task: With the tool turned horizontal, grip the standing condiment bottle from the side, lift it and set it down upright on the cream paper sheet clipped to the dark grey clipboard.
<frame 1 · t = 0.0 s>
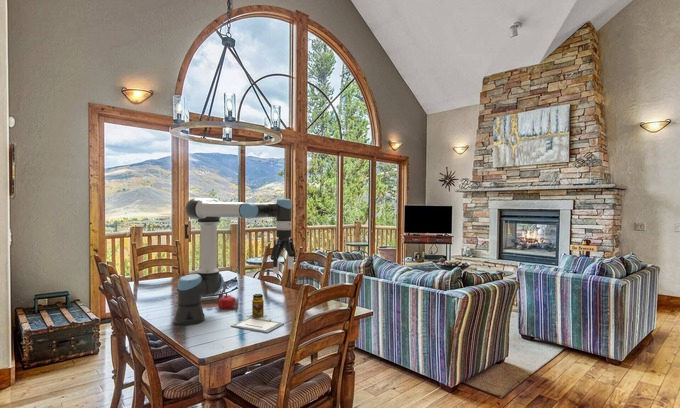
hand: (283, 271, 197), 28 cm above the table, tool pointing down, fingers open, 13 cm apart
pomegranate: (226, 308, 228), on the table
condiment: (256, 316, 214), on the table
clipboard: (257, 325, 198), on the table
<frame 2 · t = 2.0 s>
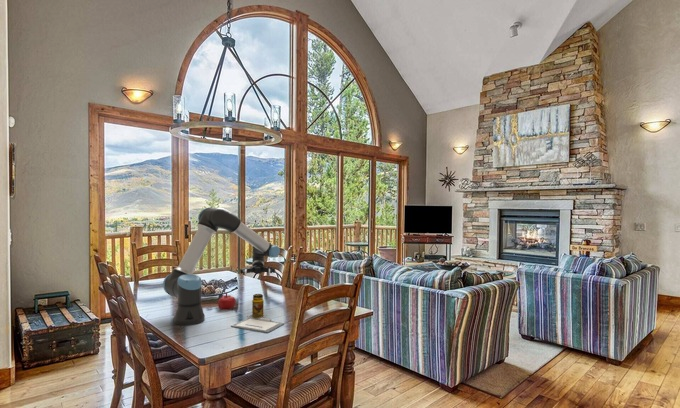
hand: (257, 273, 223), 22 cm above the table, tool horizontal, fingers open, 13 cm apart
nothing on the table moved.
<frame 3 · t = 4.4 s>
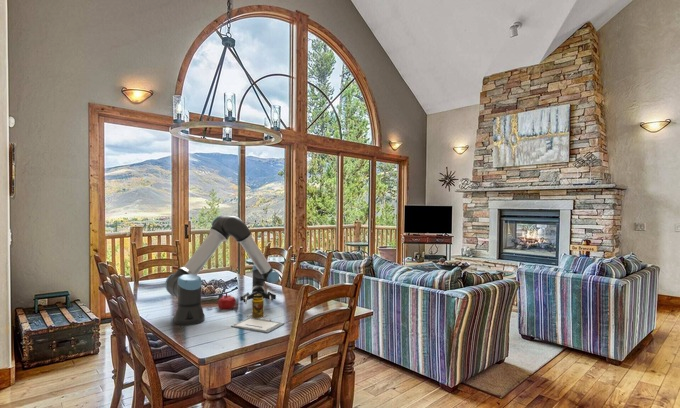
hand: (258, 301, 219), 7 cm above the table, tool horizontal, fingers open, 13 cm apart
nothing on the table moved.
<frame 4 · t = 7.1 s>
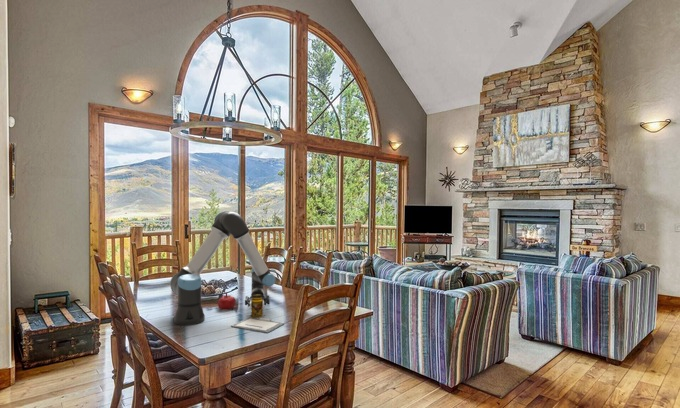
hand: (257, 305, 209), 7 cm above the table, tool horizontal, fingers closed on condiment, 6 cm apart
condiment: (256, 316, 214), on the table, touching gripper
everything else where it was.
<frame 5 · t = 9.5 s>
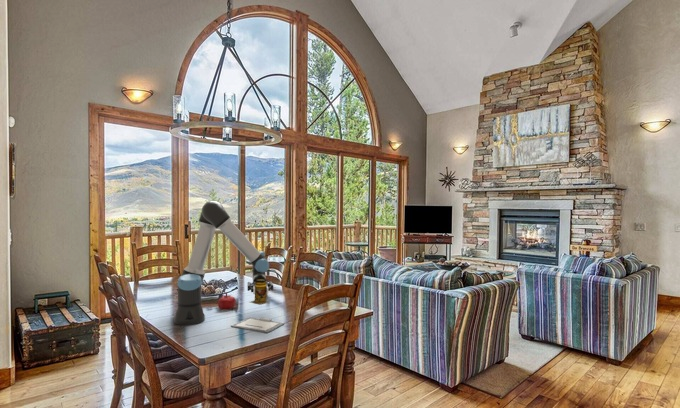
hand: (260, 291, 198), 18 cm above the table, tool horizontal, fingers closed on condiment, 6 cm apart
condiment: (259, 302, 203), point 10 cm above the table, touching gripper
everything else where it was.
when the fingers open (9 cm above the table, at t = 12.3 s): condiment drops 1 cm, resting on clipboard.
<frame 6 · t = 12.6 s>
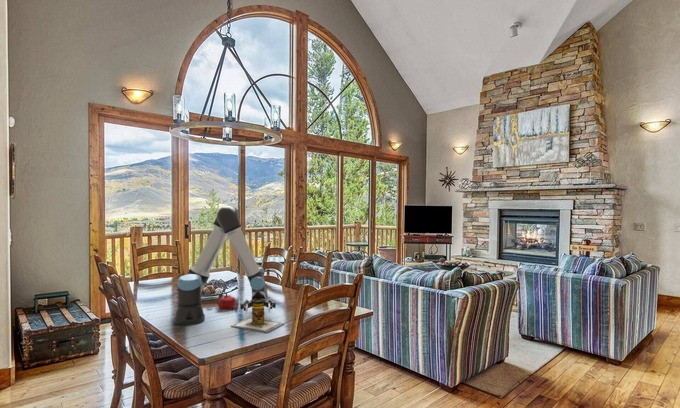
hand: (258, 310, 194), 9 cm above the table, tool horizontal, fingers open, 10 cm apart
condiment: (257, 324, 198), point 1 cm above the table, touching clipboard
everything else where it was.
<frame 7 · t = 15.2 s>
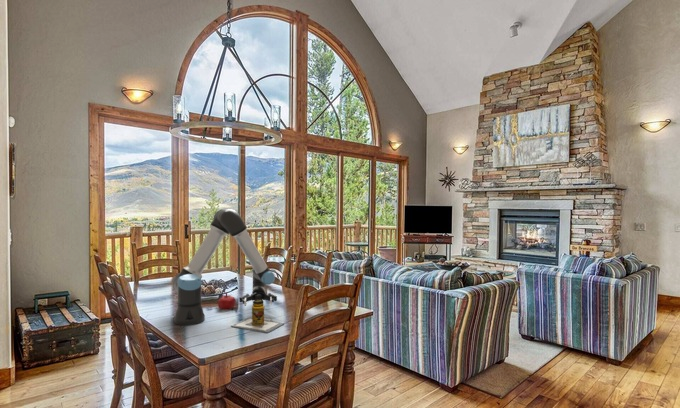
hand: (258, 302, 207), 9 cm above the table, tool horizontal, fingers open, 13 cm apart
nothing on the table moved.
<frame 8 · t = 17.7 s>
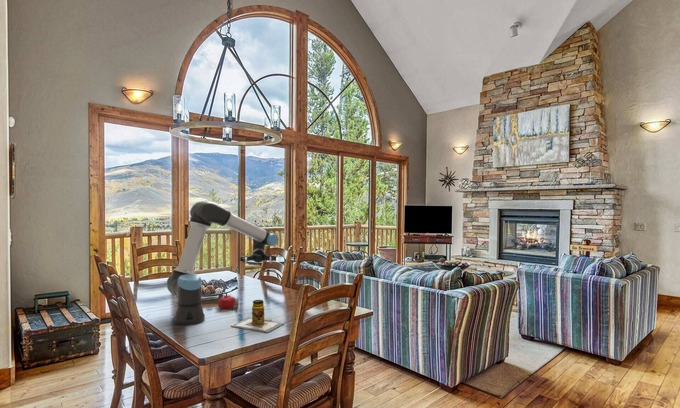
hand: (258, 261, 216), 30 cm above the table, tool horizontal, fingers open, 13 cm apart
nothing on the table moved.
at the end: condiment inside the target area on the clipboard (0.5 cm from its centre), point 0.6 cm above the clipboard's base; condiment tilted 0°; the gripper is holding nothing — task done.
